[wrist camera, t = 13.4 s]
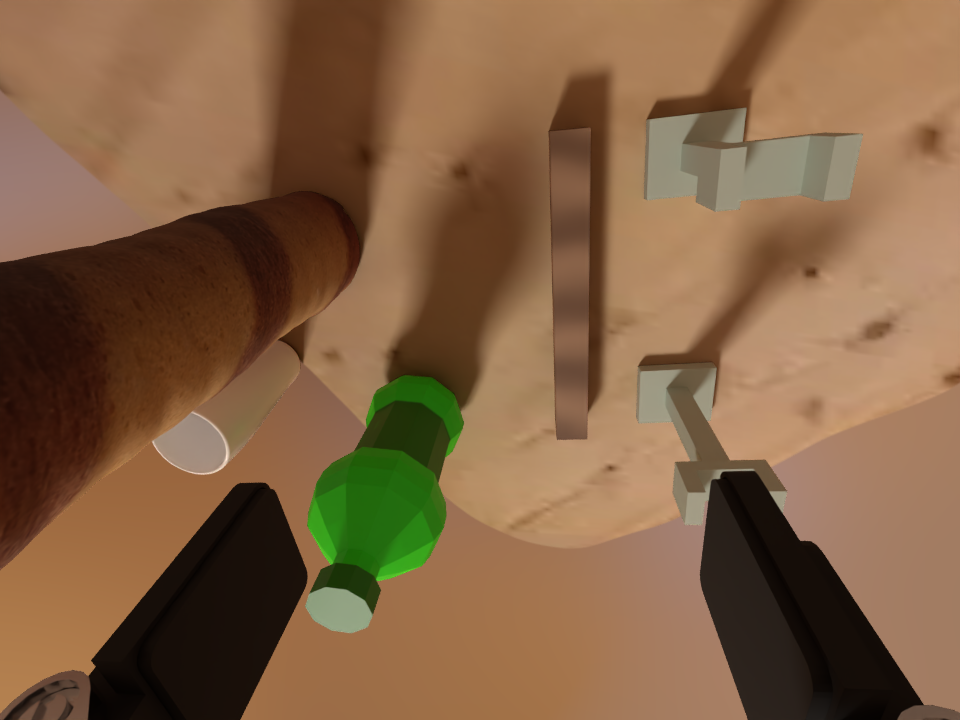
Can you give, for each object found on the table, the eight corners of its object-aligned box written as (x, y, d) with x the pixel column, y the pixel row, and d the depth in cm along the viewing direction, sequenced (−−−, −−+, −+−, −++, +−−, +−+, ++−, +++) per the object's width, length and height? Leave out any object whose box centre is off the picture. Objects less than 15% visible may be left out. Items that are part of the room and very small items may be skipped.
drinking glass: (301, 330, 50) (215, 406, 36) (315, 387, 52) (240, 477, 39) (240, 331, 50) (134, 406, 37) (257, 387, 53) (164, 475, 40)
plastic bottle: (452, 349, 49) (383, 540, 26) (480, 433, 53) (440, 658, 31) (363, 368, 51) (229, 559, 28) (396, 447, 55) (302, 667, 33)
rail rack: (646, 119, 38) (718, 116, 23) (740, 108, 37) (877, 97, 22) (636, 416, 50) (678, 540, 35) (706, 414, 49) (781, 540, 34)
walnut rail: (548, 130, 39) (550, 131, 36) (585, 127, 39) (590, 127, 35) (555, 417, 51) (556, 439, 48) (583, 417, 51) (587, 439, 47)
